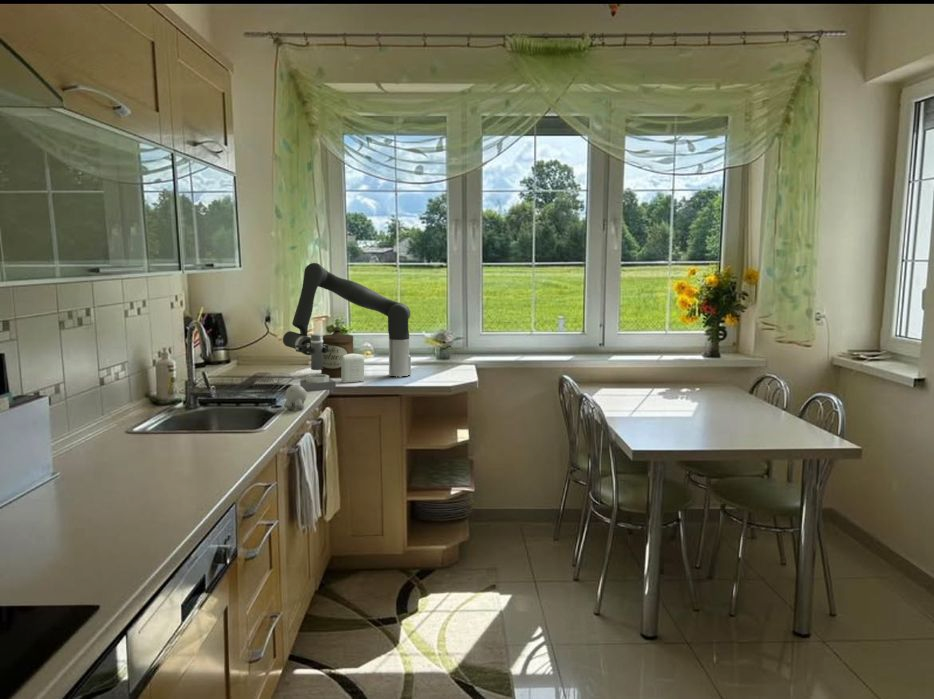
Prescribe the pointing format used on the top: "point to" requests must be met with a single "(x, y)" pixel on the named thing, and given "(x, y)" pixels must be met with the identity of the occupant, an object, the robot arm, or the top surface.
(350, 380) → the photo printer
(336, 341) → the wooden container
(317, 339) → the grey bottle
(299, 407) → the chubby cartoon animal
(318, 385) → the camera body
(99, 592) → the top surface
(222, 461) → the top surface
